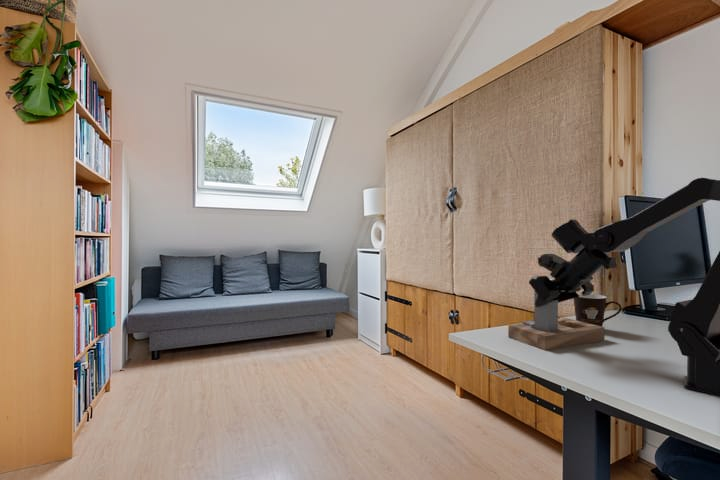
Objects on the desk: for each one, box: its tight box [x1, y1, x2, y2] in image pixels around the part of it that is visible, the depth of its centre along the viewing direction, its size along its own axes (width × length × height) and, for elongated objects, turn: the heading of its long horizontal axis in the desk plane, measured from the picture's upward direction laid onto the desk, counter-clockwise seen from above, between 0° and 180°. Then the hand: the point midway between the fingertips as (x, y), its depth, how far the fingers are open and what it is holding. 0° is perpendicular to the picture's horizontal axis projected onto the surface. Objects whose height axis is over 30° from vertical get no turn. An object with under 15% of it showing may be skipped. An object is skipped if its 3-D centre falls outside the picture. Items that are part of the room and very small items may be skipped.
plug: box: [533, 278, 559, 332], centre depth 97 cm, size 4×4×14 cm
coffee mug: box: [573, 293, 622, 327], centre depth 109 cm, size 12×9×10 cm
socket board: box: [507, 317, 605, 351], centre depth 100 cm, size 12×22×4 cm, turn 112°
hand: (541, 304), depth 98 cm, fingers closed on plug, 4 cm apart
